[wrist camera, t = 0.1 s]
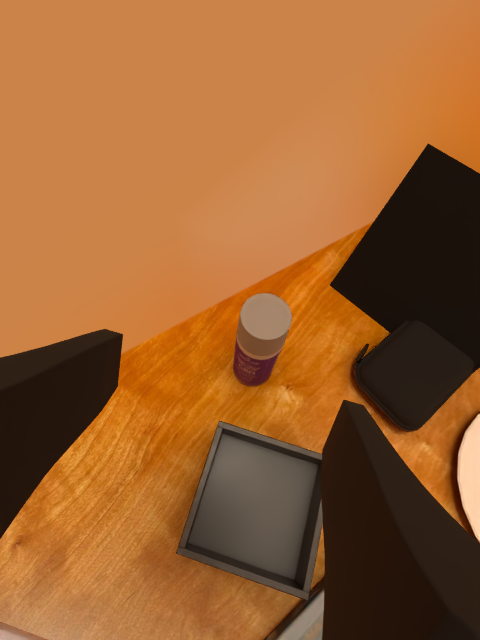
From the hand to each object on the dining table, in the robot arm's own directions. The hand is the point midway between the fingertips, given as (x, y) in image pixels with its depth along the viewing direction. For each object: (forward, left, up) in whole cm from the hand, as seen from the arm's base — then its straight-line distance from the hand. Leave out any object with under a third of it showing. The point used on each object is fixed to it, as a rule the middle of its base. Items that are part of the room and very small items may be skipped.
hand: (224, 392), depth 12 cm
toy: (+26, -18, -23) cm, 39 cm away
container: (+11, 0, -32) cm, 34 cm away
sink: (-3, -5, -32) cm, 33 cm away
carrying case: (+17, -19, -32) cm, 41 cm away
